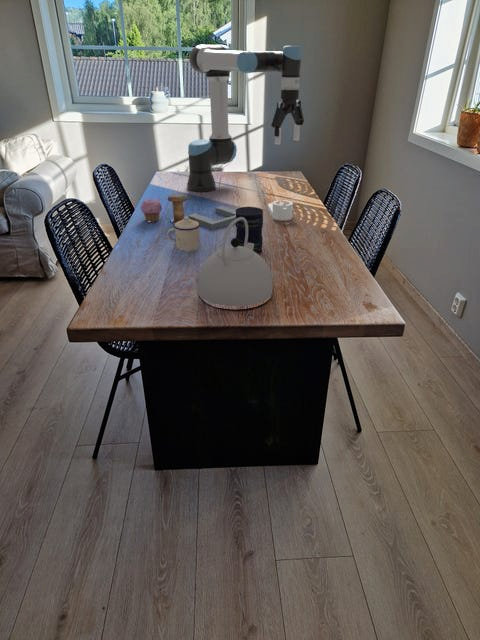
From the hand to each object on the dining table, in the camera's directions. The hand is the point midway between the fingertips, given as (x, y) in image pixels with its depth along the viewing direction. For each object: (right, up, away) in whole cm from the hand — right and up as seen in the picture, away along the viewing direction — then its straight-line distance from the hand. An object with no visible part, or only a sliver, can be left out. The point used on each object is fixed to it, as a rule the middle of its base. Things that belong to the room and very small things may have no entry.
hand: (287, 142), depth 198 cm
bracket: (-3, -31, +4) cm, 32 cm away
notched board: (-31, -36, -5) cm, 47 cm away
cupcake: (-58, -38, -8) cm, 70 cm away
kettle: (-22, -70, -62) cm, 96 cm away
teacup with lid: (-42, -52, -32) cm, 74 cm away
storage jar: (-18, -54, -35) cm, 67 cm away
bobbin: (-47, -37, -8) cm, 61 cm away
